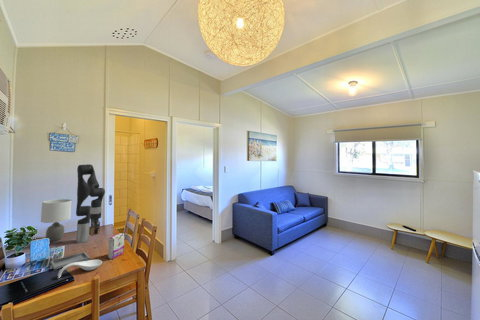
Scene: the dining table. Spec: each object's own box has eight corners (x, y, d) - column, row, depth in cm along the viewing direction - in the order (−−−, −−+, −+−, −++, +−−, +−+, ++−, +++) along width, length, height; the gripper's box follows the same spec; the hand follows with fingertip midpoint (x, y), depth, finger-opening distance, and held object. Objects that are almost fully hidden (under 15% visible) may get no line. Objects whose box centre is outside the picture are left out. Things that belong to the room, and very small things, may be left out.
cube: (88, 234, 157) (89, 226, 157) (97, 232, 161) (98, 225, 162) (91, 235, 153) (91, 228, 153) (100, 233, 158) (100, 226, 158)
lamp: (73, 234, 197) (75, 198, 198) (62, 242, 178) (65, 202, 179) (47, 236, 190) (49, 199, 191) (33, 244, 170) (36, 203, 172)
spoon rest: (99, 262, 145) (99, 253, 146) (103, 268, 138) (104, 258, 138) (56, 275, 127) (57, 264, 128) (58, 282, 120) (59, 271, 120)
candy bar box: (119, 252, 162) (120, 232, 163) (124, 253, 161) (125, 233, 162) (107, 258, 151) (108, 237, 152) (112, 259, 150) (114, 238, 151)
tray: (50, 263, 140) (50, 260, 141) (84, 254, 156) (84, 251, 156) (53, 271, 132) (54, 267, 132) (89, 260, 147) (89, 257, 148)
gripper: (87, 211, 159) (86, 232, 159) (93, 214, 150) (91, 236, 150) (98, 210, 165) (96, 229, 165) (104, 213, 156) (103, 233, 156)
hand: (94, 232), depth 157 cm, fingers closed on cube, 6 cm apart
